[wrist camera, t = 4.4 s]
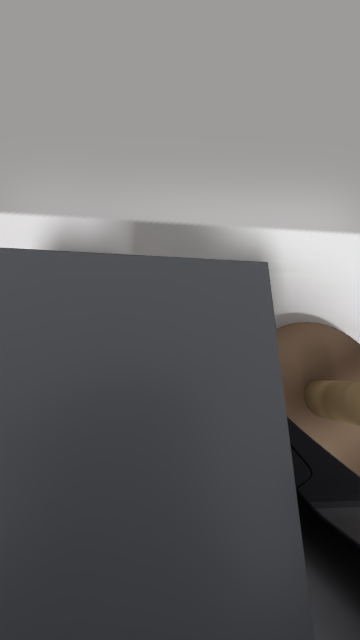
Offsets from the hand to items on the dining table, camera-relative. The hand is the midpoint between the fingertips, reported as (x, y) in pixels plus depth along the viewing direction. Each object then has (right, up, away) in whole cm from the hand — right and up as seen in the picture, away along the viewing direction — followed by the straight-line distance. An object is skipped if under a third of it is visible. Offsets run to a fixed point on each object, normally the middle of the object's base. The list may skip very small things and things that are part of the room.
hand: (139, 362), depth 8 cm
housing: (-1, -3, +6) cm, 7 cm away
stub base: (+11, -4, +7) cm, 14 cm away
